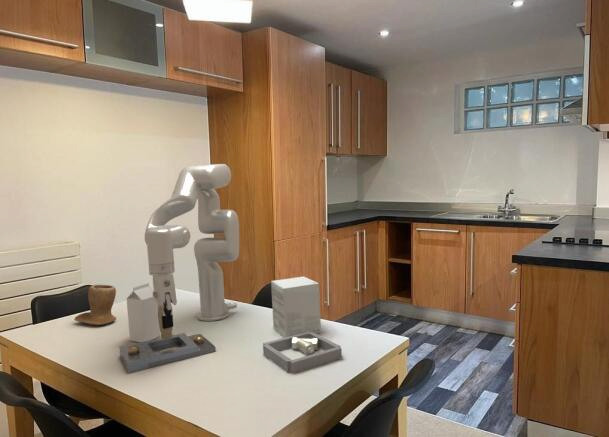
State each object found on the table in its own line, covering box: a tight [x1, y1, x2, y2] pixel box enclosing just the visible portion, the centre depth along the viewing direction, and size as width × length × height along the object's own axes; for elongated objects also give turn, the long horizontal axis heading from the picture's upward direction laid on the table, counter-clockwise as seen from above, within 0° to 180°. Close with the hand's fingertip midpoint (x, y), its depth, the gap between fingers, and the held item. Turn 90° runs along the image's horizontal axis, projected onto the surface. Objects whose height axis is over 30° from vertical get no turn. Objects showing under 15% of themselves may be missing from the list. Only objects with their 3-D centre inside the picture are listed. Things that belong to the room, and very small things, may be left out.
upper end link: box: [118, 332, 198, 374], centre depth 137 cm, size 20×15×5 cm
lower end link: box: [148, 333, 216, 369], centre depth 140 cm, size 20×15×3 cm
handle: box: [153, 292, 173, 339], centre depth 137 cm, size 5×6×15 cm
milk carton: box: [126, 282, 161, 343], centre depth 152 cm, size 7×7×19 cm
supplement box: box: [270, 276, 322, 338], centre depth 154 cm, size 13×13×18 cm
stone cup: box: [73, 284, 117, 326], centre depth 174 cm, size 15×12×15 cm
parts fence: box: [262, 332, 343, 374], centre depth 132 cm, size 18×18×3 cm
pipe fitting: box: [291, 337, 320, 356], centre depth 136 cm, size 8×4×7 cm
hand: (166, 325), depth 138 cm, fingers closed on handle, 3 cm apart
